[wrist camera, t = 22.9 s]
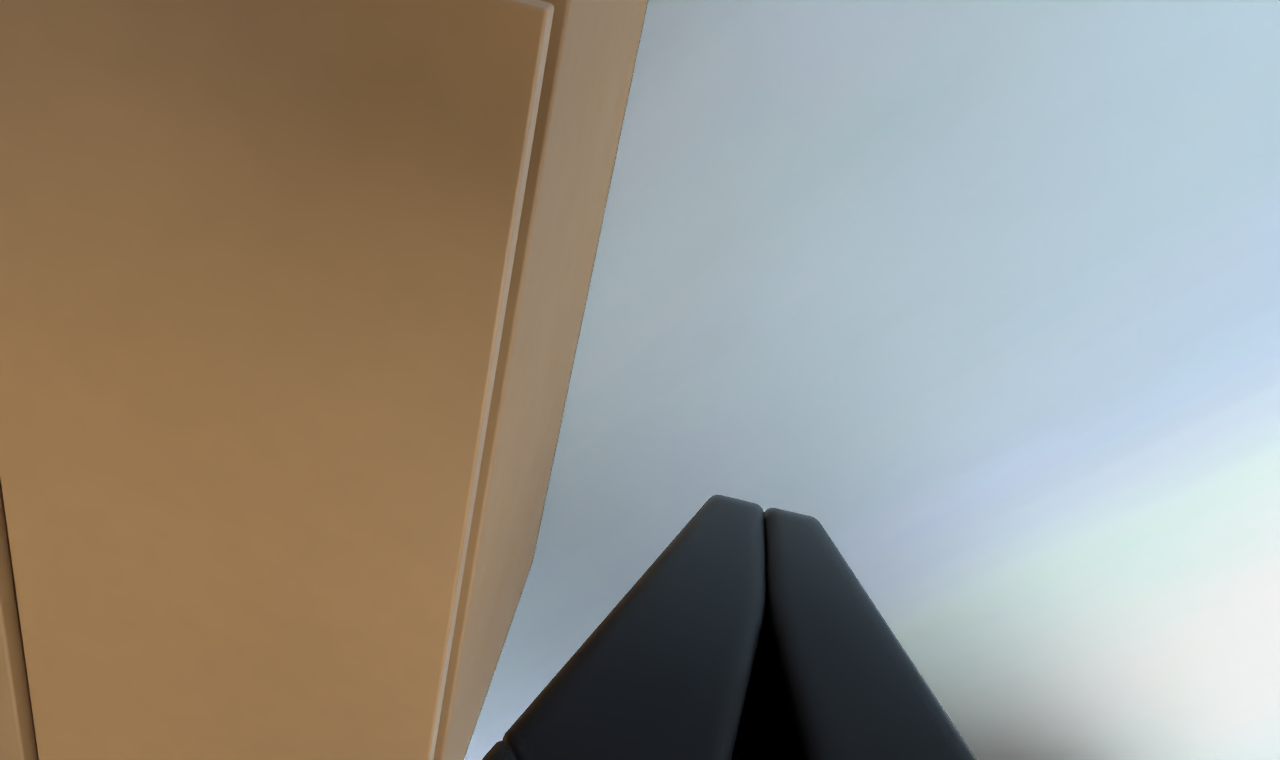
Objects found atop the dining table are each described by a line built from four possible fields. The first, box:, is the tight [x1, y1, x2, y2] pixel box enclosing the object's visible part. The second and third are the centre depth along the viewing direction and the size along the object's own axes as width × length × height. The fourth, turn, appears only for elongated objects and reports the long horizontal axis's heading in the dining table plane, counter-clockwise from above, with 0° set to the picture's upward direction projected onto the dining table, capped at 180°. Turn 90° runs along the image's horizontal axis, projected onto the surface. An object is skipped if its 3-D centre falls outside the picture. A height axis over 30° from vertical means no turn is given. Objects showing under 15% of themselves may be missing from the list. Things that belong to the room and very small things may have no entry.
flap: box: [0, 0, 554, 760], centre depth 14 cm, size 15×6×1 cm, turn 168°
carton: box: [0, 0, 648, 760], centre depth 17 cm, size 15×13×9 cm
